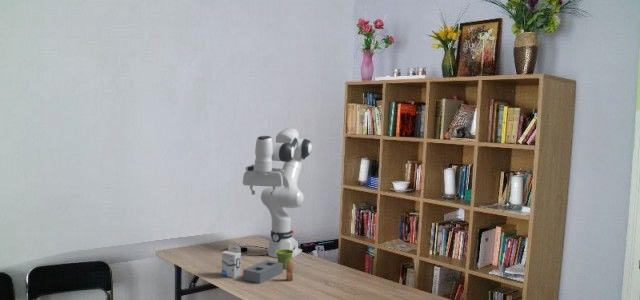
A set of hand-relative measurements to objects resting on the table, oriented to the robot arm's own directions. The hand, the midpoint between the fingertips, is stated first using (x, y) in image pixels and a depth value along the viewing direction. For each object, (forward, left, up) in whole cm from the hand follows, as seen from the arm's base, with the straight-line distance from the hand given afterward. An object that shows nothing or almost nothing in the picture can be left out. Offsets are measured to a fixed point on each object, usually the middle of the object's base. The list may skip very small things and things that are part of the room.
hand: (262, 194), depth 240 cm
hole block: (+5, +6, -40) cm, 40 cm away
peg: (+3, +20, -40) cm, 44 cm away
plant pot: (-13, +7, -40) cm, 42 cm away
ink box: (+13, -8, -40) cm, 43 cm away
